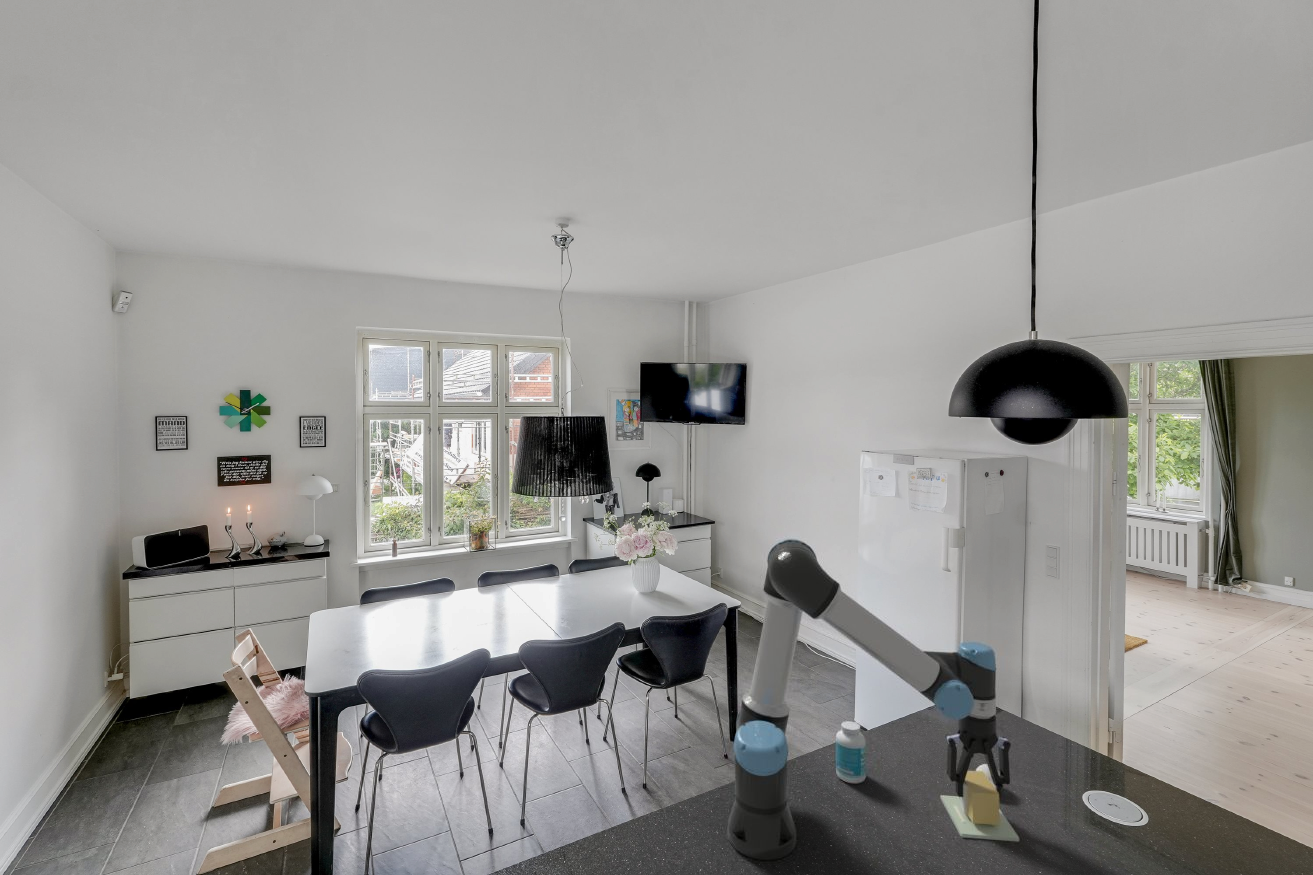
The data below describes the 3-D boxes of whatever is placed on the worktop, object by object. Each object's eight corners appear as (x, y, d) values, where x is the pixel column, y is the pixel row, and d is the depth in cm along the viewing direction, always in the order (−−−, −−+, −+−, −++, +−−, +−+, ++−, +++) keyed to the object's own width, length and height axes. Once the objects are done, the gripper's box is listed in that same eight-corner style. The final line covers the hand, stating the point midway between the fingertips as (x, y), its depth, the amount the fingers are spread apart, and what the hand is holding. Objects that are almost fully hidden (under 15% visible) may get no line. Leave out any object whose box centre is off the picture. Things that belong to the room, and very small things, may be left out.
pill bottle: (867, 786, 153) (867, 733, 153) (837, 783, 154) (837, 731, 154) (863, 769, 160) (863, 719, 160) (834, 766, 162) (834, 717, 162)
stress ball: (977, 792, 155) (961, 767, 157) (1006, 779, 153) (989, 754, 155) (982, 808, 148) (964, 783, 150) (1012, 795, 146) (994, 769, 147)
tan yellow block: (972, 823, 136) (972, 792, 136) (958, 798, 145) (958, 769, 145) (999, 824, 135) (999, 793, 135) (983, 800, 144) (983, 771, 144)
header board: (961, 836, 134) (961, 816, 134) (940, 798, 148) (940, 779, 148) (1019, 841, 132) (1019, 820, 132) (992, 801, 146) (992, 783, 146)
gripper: (940, 717, 137) (941, 818, 137) (1028, 721, 134) (1028, 823, 135) (930, 702, 144) (930, 797, 145) (1013, 706, 142) (1013, 803, 142)
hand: (978, 810), depth 140 cm, fingers closed on tan yellow block, 6 cm apart
